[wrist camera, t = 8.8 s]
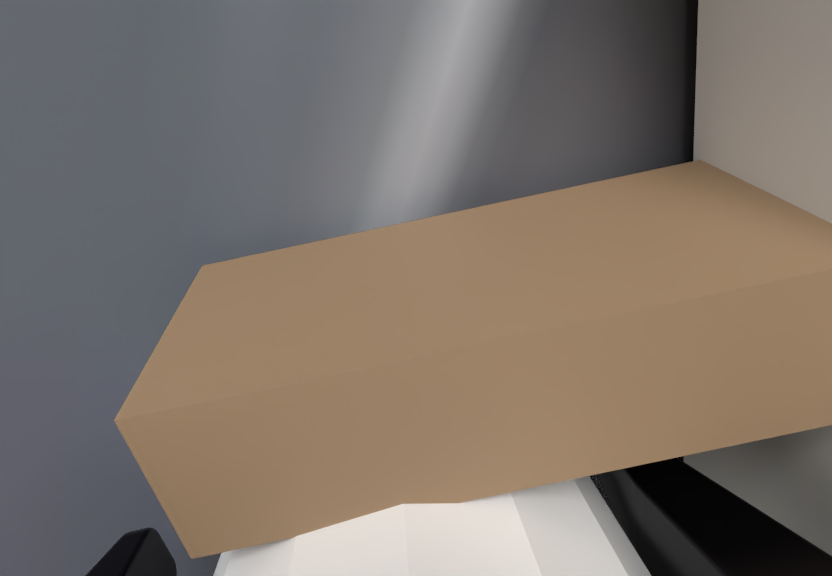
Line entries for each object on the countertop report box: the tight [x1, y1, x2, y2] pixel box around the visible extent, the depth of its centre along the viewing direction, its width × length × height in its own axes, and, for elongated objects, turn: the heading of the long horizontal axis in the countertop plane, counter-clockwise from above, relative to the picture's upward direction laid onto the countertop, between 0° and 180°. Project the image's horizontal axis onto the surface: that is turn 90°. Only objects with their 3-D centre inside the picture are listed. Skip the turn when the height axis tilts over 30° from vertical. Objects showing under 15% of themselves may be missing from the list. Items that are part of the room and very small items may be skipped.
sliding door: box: [114, 0, 832, 559], centre depth 7 cm, size 18×9×5 cm, turn 11°
